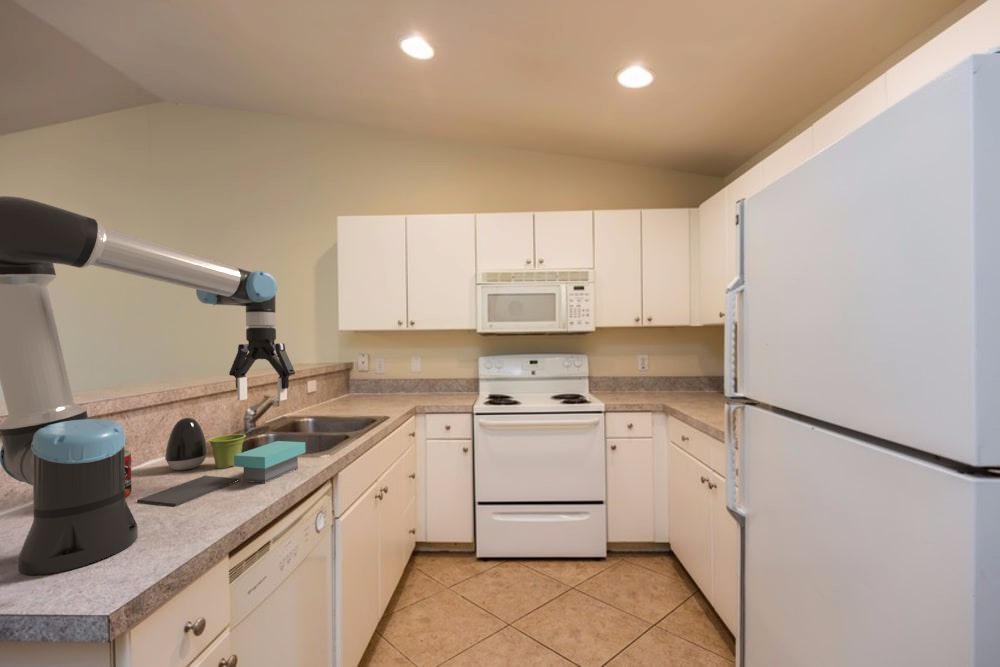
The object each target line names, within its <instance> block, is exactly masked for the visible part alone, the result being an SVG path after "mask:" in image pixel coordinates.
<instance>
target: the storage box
mask: <svg viewBox="0 0 1000 667" xmlns="http://www.w3.org/2000/svg"><path fill="white" fill-rule="evenodd" d="M298 458H299V455H298V456H295V457H293V458H290V459H288V460H285V461H283V462H280V463H278V464H275V465H273V466H270V467H268V468H265V469H264V468H249V467H243V482H244V481H253V482H252V483H255V482H267V483H269V482H271V481H270V480H272V479H274V480H276V479H278V478H280V477H279V476H281V477H282V475H283V474H285V475H287V474H289V473H288V472H290V471H292V472H294V471H296V470H298V469H299V464H298V463H299V460H298ZM295 469H296V470H295ZM293 470H294V471H293ZM286 473H287V474H286ZM290 473H291V472H290ZM283 476H284V475H283ZM277 477H278V478H277ZM275 478H276V479H275ZM268 481H269V482H268ZM272 481H273V480H272Z"/></svg>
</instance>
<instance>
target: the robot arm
mask: <svg viewBox="0 0 1000 667" xmlns="http://www.w3.org/2000/svg"><path fill="white" fill-rule="evenodd" d="M54 264H57V265H65V266H70V267H75V268H79V269H84V268H85V267H89V266H95V267H99V268H102V269H108V270H112V271H116V272H120V273H124V274H129V275H133V276H138V277H142V278H147V279H152V280H155V281H159V282H164V283H169V284H172V285H176V286H181V287H185V288H189V289H193V290H196V291H195V293H196V296H197V299H198V300H199V301H200V302H201V303H202V304H207V305H212V306H216V305H217V306H218V305H219V306H241V307H245V326H246V327H247V328H246V329H245V336H246V337H245V338H246V339H245V340H246V341H247V342H248V343H240V344H238V347H237V353H236V355H235V358H234V360H233V364H232V365H231V368H230V370H229V372H228V373H229V374H228V375H229V376H232V377H234V379H235V388H236V389H237V401H243V400H248V377H247V375H246V374H247V373H248V371H249V370H250V369H251V367H252V366H253V364H254V363H255V361H257V360H265V361H268V362H269V364H270V365H271V367H272V368H273V369H274V371H275V372H276V373H277V374H278V376H279V377H277V401H279V402H281V401H285V400H288V389H289V385H290V384H289V381H290V380H289V378H290V377H291V376H294V375H295V374H296V370H295V369H294V367H293V364H292V362H291V360H290V358H289V356H288V354H287V352H286V344H285V343H282V342H281V343H279V342H278V343H277V342H276V343H275V341H276V339H277V330H276V328H275V327H276V323H277V322H276V320H277V318H276V294H277V290H278V284H277V281H276V279H275V277H274V276H272V274H270V273H268V272H267V271H258V270H255V271H249V270H245V269H243V268H238V267H235V266H232V265H228V264H225V263H222V262H218V261H215V260H212V259H208V258H205V257H202V256H199V255H196V254H192V253H189V252H185V251H182V250H178V249H176V248H172V247H169V246H166V245H162V244H159V243H155V242H152V241H149V240H146V239H143V238H139V237H137V236H132V235H129V234H126V233H122V232H120V231H116V230H112V229H109V228H106V227H103V226H102V224H101V223H100V222H99V220H98V219H95V218H92V217H88V216H87V215H82V214H79V213H76V212H73V211H69V210H67V209H63V208H60V207H57V206H54V205H52V204H51V205H50V204H47V203H43V202H40V201H37V200H34V199H33V200H32V199H29V198H25V197H18V196H8V195H6V196H5V195H0V386H1V390H2V393H3V394H2V395H3V397H4V403H5V406H6V409H7V414H8V415H7V416H6V418H5V419H4V420H3V421H2V422H1V423H0V439H1V443H2V445H1V448H0V465H1V467H2V469H3V471H4V472H5V473H6V474H7V475H9V476H10V477H11V478H13V479H14V480H16V481H18V482H21V483H25V484H28V485H30V486H32V488H33V490H32V493H33V496H32V497H33V501H32V502H33V520H32V524H31V525H30V526H31V527H30V529H29V531H28V533H27V536H26V538H25V540H24V542H23V545H22V548H21V550H20V552H19V554H18V563H17V564H18V571H19V573H21V574H22V575H28V576H30V575H31V576H32V575H33V576H38V575H49V574H54V573H60V572H65V571H70V570H72V569H78V568H80V567H84V566H87V565H89V564H90V563H91V564H94V563H95V562H96V561H97V562H99V561H102V560H104V558H105V559H107V558H109V557H111V556H110V555H112V556H114V555H116V554H119V553H120V552H122V551H123V550H126V549H127V548H129V547H130V546H132V545H133V544H134V543H135V542H136V541H137V539H138V537H139V533H138V532H139V531H138V530H139V529H138V528H139V527H138V523H137V521H136V519H135V518H134V515H133V513H132V511H131V509H130V507H129V505H128V503H127V501H126V498H125V450H126V449H125V446H126V440H127V439H126V436H125V433H124V432H125V431H124V428H123V425H122V424H121V423H119V422H117V421H115V420H112V419H104V418H102V419H96V418H89V416H88V413H87V409H86V407H84V406H82V405H79V404H77V403H75V401H74V399H73V393H72V389H71V384H70V382H69V381H70V380H69V376H68V372H67V368H66V364H65V358H64V354H63V349H62V344H61V342H60V337H59V332H58V328H57V323H56V320H55V314H54V310H53V306H52V302H51V301H52V300H51V298H50V292H49V289H48V286H49V284H50V283H52V282H53V281H54V280H55V279H56V278H57V275H56V269H55V265H54ZM113 554H114V555H113ZM108 556H109V557H108ZM106 557H107V558H106ZM101 559H102V560H101ZM93 562H94V563H93Z"/></svg>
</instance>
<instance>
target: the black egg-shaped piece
mask: <svg viewBox="0 0 1000 667" xmlns="http://www.w3.org/2000/svg"><path fill="white" fill-rule="evenodd" d="M207 455H208V445H207V440H206V436H205V434H204V431H203V429H202V427H201V425H200V424H199V422H198V421H197V420H196V419H195V418H191V417H185V418H182V419H179V420H178V421H177V422H176V423H175V424H174V426H173V427H172V429H171V432H170V434H169V437H168V440H167V445H166V449H165V455H164V456H165V457H164V459H165V461H166V462H167V465H168V466H169V468H170V469H172V470H174V471H186V469H188V470H191V468H193V469H195V468H197V467H199V466H201V465H202V464H203V463H204V461H205V459H206V457H207Z"/></svg>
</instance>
